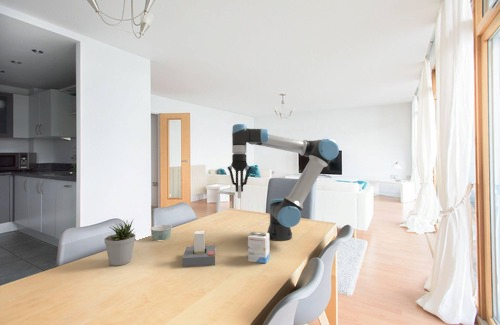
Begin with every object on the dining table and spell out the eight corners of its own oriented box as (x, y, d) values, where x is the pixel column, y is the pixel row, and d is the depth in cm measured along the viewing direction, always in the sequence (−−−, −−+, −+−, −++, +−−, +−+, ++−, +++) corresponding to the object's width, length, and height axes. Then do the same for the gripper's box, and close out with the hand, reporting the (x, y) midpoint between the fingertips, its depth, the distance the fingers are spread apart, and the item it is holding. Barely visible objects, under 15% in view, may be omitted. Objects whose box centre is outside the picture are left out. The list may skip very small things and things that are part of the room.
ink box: (270, 256, 120) (270, 229, 120) (265, 263, 112) (265, 234, 112) (253, 254, 123) (253, 227, 122) (247, 261, 115) (247, 232, 114)
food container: (155, 243, 139) (155, 231, 139) (147, 238, 148) (147, 227, 148) (175, 238, 147) (175, 227, 147) (167, 234, 156) (167, 223, 156)
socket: (214, 253, 124) (214, 244, 124) (215, 265, 110) (215, 254, 110) (186, 254, 122) (186, 245, 122) (182, 267, 108) (182, 256, 108)
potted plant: (103, 271, 104) (103, 224, 104) (105, 259, 116) (104, 217, 116) (136, 265, 110) (136, 220, 109) (134, 254, 122) (134, 214, 122)
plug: (204, 255, 118) (204, 230, 118) (204, 259, 114) (204, 233, 114) (194, 256, 118) (194, 231, 118) (194, 260, 113) (194, 234, 113)
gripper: (250, 153, 137) (250, 196, 137) (226, 153, 135) (226, 197, 135) (252, 153, 130) (252, 198, 130) (227, 153, 128) (227, 199, 128)
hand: (239, 197), depth 133 cm, fingers closed
